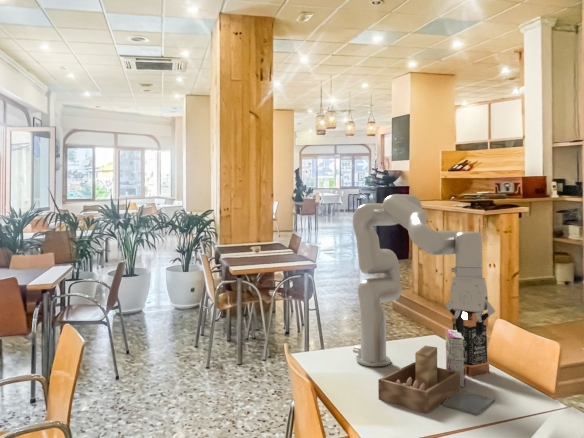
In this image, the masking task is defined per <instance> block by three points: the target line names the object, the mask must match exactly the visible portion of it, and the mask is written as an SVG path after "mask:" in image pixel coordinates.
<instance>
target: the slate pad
mask: <svg viewBox="0 0 584 438" xmlns="http://www.w3.org/2000/svg"><path fill="white" fill-rule="evenodd" d="M495 401H496V398H494V397H489V396H487V395H482V394H477V393H473V392H470V391H465V390H460V392H458V393H457V394H455V395H454V396H452V397H451V398H449V399H448V400H446V401H445V402H443V403H442V405H443V407H447V408H449V409H453V410H456V411H457V410H458V411H460V412H462V413H463V412H464V413H467V414H471V415H474V416H478V415H480V414H481V413H482V412H483V411H485V410H486V409H487V408H488V407H490V406H491V405H492V404H493V403H494V402H495Z"/></svg>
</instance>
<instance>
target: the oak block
mask: <svg viewBox="0 0 584 438" xmlns="http://www.w3.org/2000/svg"><path fill="white" fill-rule="evenodd" d="M414 359H415V361H414V362H415V363H416V380H417V381H418V388H417V389H420V386H421V385H422V383H424V384H425V390H424V391H426V390H427V389H429V388H431V387H432V386H434V385H436V384H437V367H438V347H437V346H430V345H424V346H422V347H421V348H420V349H419V350H417V351H416V352H415V358H414Z"/></svg>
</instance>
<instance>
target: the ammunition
mask: <svg viewBox="0 0 584 438" xmlns="http://www.w3.org/2000/svg"><path fill="white" fill-rule="evenodd" d="M396 383H398V384H400V380H397V381H396ZM401 384H402V383H401ZM402 385H405V386H407V385H408V386H409V387H413V388H416V389H417V388H418V381H417V380H416V381H414V382H413V384H412V378H411V377H409V378H408V380H407V382H406V383H403V384H402ZM420 390H425V384H424V383H422V385H421V386H420Z"/></svg>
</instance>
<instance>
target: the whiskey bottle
mask: <svg viewBox="0 0 584 438" xmlns="http://www.w3.org/2000/svg"><path fill="white" fill-rule="evenodd" d="M462 318H463V326H464V330H463V331H462V332H461V334H462V336H463V337H464V357H465V377H468V378H476V377H478V376H482V375H486V374H489V373H490V363H489V361H488V338H487V325H488V318H487V319H486V320H485V321H484V332H483V333H482V334H481V335H479V336H477V335H476V322H477V320H478V319H477V316H476V313H475V312H468V311H463V313H462ZM451 323H452V330H457V329H456V319H455V318H454V316H453V315H452V316H451Z"/></svg>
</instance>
